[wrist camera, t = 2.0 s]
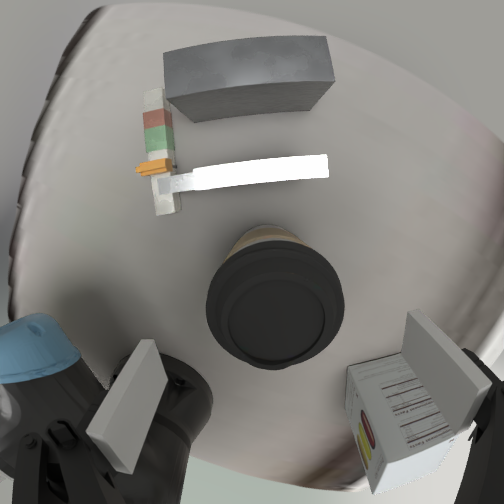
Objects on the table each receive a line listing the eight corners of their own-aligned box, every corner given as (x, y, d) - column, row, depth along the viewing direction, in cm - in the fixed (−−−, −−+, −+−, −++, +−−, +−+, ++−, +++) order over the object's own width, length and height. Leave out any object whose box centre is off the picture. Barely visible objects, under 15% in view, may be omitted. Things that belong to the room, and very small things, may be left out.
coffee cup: (235, 204, 29) (216, 233, 14) (319, 225, 29) (375, 271, 15) (218, 284, 31) (191, 369, 17) (296, 301, 32) (323, 391, 17)
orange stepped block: (147, 176, 25) (136, 176, 23) (146, 164, 25) (135, 163, 22) (174, 171, 25) (165, 170, 22) (172, 158, 25) (164, 157, 22)
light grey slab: (173, 192, 28) (135, 200, 19) (171, 178, 28) (132, 180, 18) (303, 176, 28) (328, 176, 18) (302, 161, 27) (326, 154, 18)
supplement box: (346, 365, 34) (386, 463, 18) (405, 349, 34) (463, 430, 17) (343, 410, 37) (371, 497, 20) (397, 395, 36) (437, 472, 20)
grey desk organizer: (163, 212, 29) (122, 230, 19) (150, 97, 26) (108, 69, 16) (319, 194, 28) (350, 203, 19) (304, 76, 25) (325, 36, 15)
